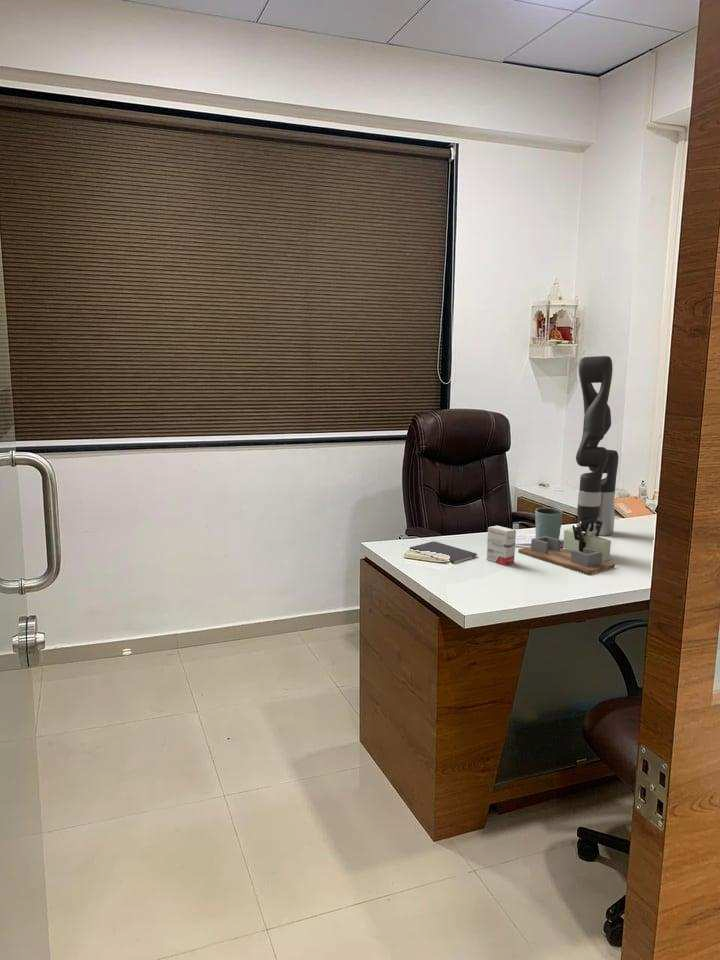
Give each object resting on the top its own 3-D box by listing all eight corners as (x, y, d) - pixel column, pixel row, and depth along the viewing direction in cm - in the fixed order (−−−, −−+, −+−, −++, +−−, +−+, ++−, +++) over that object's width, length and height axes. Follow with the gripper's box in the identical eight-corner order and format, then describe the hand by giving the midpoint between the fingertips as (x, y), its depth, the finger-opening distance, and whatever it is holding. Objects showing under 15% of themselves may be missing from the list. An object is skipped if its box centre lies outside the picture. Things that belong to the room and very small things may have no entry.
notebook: (409, 551, 253) (453, 565, 237) (409, 547, 252) (453, 560, 236) (433, 545, 261) (478, 558, 245) (434, 541, 260) (478, 553, 245)
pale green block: (570, 547, 256) (571, 528, 255) (609, 560, 241) (610, 540, 240) (563, 548, 255) (564, 529, 253) (602, 561, 239) (603, 541, 238)
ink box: (514, 563, 238) (516, 529, 236) (505, 565, 235) (507, 531, 233) (495, 557, 244) (496, 524, 242) (485, 559, 241) (487, 526, 239)
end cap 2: (587, 567, 230) (587, 555, 229) (570, 562, 235) (571, 550, 234) (601, 563, 234) (602, 552, 233) (584, 558, 239) (585, 547, 238)
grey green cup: (549, 536, 271) (551, 506, 269) (567, 543, 262) (569, 512, 260) (528, 539, 267) (529, 508, 265) (545, 546, 258) (546, 514, 256)
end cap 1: (545, 546, 253) (545, 535, 253) (559, 550, 248) (560, 540, 247) (530, 549, 249) (531, 538, 249) (545, 554, 244) (546, 543, 243)
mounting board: (544, 546, 258) (545, 543, 258) (614, 567, 233) (615, 564, 233) (518, 552, 250) (518, 549, 250) (587, 575, 226) (588, 571, 225)
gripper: (593, 498, 251) (589, 545, 255) (567, 503, 243) (564, 551, 247) (611, 502, 245) (607, 550, 249) (584, 507, 237) (581, 556, 241)
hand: (585, 550), depth 248 cm, fingers closed on pale green block, 3 cm apart
